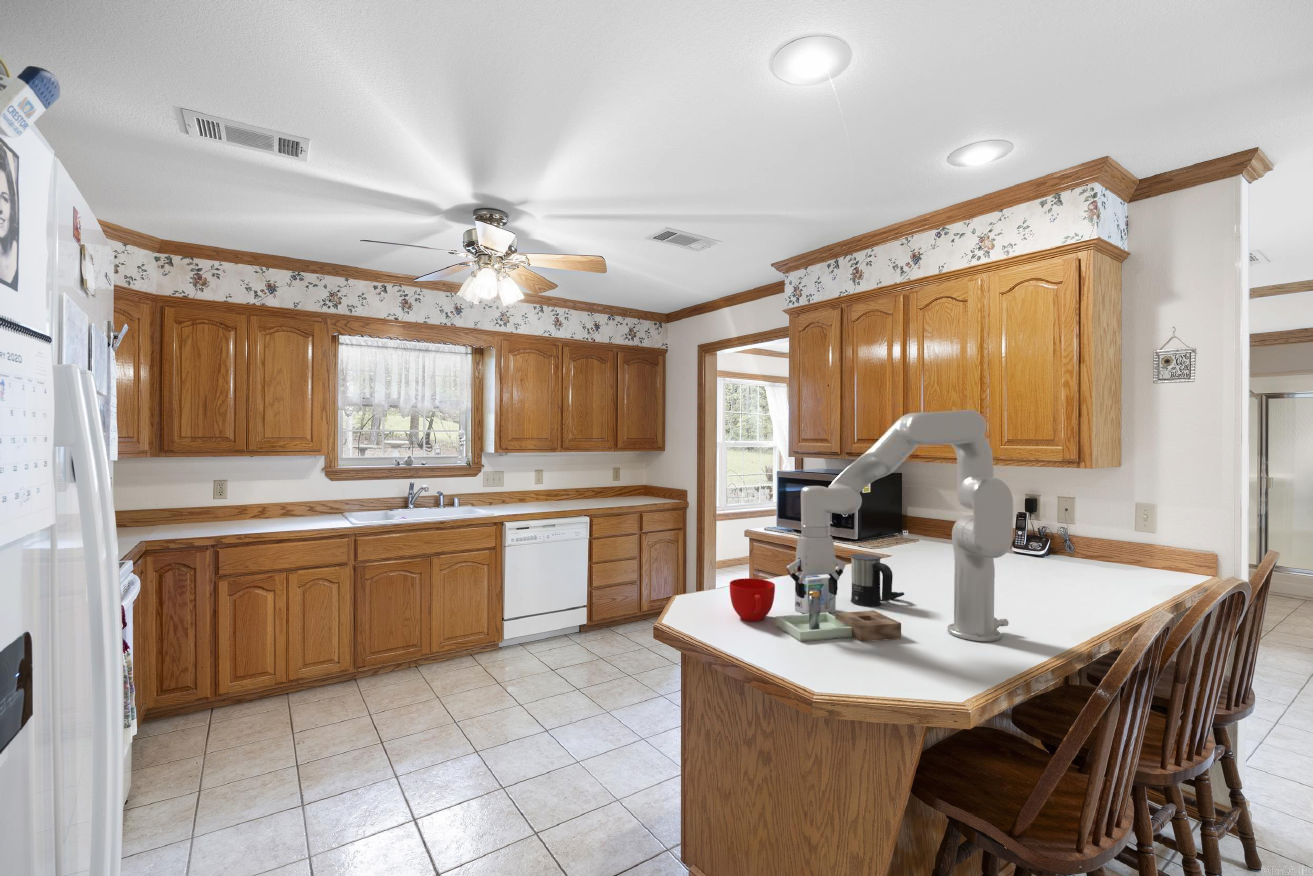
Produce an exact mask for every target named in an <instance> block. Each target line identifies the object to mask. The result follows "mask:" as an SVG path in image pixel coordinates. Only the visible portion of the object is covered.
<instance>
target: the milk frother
mask: <svg viewBox="0 0 1313 876" xmlns="http://www.w3.org/2000/svg"><path fill="white" fill-rule="evenodd" d="M850 558H851V596H850V597H851V598H850V603H852V604H854V605H857V606H863V607H876V606H881V605H882V602H887V601H893V600H895V599H897V598H901V597H903V596H904V595H905V592H903V591H901V592H897V591H893V580H894V579H893V575H894V574H893V571H892V569H891V567H890V566H889V565H888V564H886V563H882V562H881V559H882V556H880V555H876V554H869V553H854V554H851V555H850ZM881 574H882V575H881ZM881 576H882V583H881ZM881 585H882V586H881Z"/></svg>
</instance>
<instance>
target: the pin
mask: <svg viewBox="0 0 1313 876" xmlns="http://www.w3.org/2000/svg"><path fill="white" fill-rule="evenodd" d="M809 629H810V630H815V629H820V592H819V591H814V590H813V591H809Z"/></svg>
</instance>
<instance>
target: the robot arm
mask: <svg viewBox="0 0 1313 876" xmlns="http://www.w3.org/2000/svg"><path fill="white" fill-rule="evenodd" d="M987 425H988V424H987V421H986V419H985V418H984V416H983V415H982V414H981V413H980V412H978V411H976V410H973V409H963V410H960V409H958V410H950V411H949V410H948V411H947V410H946V411H930V412H927V411H926V412H925V411H924V412H911V413H910V412H909V413H905V414H904V415H902V416H901V417H899V418H898V419H897V420H896V421H895V422H894V423H893V424H892V425H891V426H890V427H889V428H888V429H887V431H886V432H884V434H883V435H882V436H881V437H880V438H879V439H878V440H877V441H876V442H875V443H874V444H872V445H871V447H870V448H869V449H868V450H867V451H865V452H864V453H863V454H861V455H860V456H859V457H858V458H857V459H856V460H855V461H853V462H852V463H850V465H848V466H847V467H846V468H845V469H844V470H842V472H841V473H840V474H839V475H838V476H837V477H836V478H835V479H834V480H832V482H831V484H829V485H828V487H826V486H822V485H808V486H804V487H802V488H801V490H800V515H801V516H800V521H801V522H800V523H801V526H800V527H801V528H800V529H801V531H800V532H801V536H798V539H797V544H796V548H795V549H796V550H795V560H794V561H793V562H791V563H790V564H788V565H787V566H786V567H785V569H786V571H787V573H788V575H789V577H790V578H791V579H792V580H793V581H794V583H795V582H796V594H797V596H798V597H800V598H804V597H805V588H804V583H802V582H803V580H804V579H805V578H806V576H812V575H824V574H828V575H829V576H830V578H829V579H828V587H829V593H831V594H833V595H836V596H837V595H838V589H839V588H838V581H839V580H840V577H841V576H842V575H843V573H844V570H845V568H846V565H847V563H846V562H845V561H843V560H841V559H839V558H837V557H836V549H835V544H834V540H833V536H831V534H832V533H834V532H835V528H834V527H833V526H831V513H832V514H833V513H834V514H840V515H851V514H854V513H856V512H857V511H858V510H860V508H861V506H862V503H863V500H862V499H863V497H862V496H861V494H860V493H861V492H862V491H863V490H864V489H865V488H866V487H867V486H869V485H870V484H872V483H873V482H875V481H876V480H878V479H881V478H884V477H886V476H888V475H891V474H892V473H894V472H895V471H896V470H897V469H898V467H900V465H902V464H903V463H904V461H906V459H907V458H909V457H910V455H911V454H912V453H913V452H914V451H915V450H916V449H917V448H918V447H919V446H943V445H944V446H945V445H950V446H951V448H953V450H954V452H955V455H956V463H957V464H956V465H957V476H956V477H957V479H956V480H957V481H956V482H957V484H956V486H957V487H956V495H957V501H958V503H959V504H960V505H961V506H962V507H964V508H965V509H967V510H970V511H972V514H968V515H965V516H962V517H960V518H958V519H957V520H956V521H955V523H954V524H953V527H952V530H951V541H952V546H953V548H952V549H953V556H954V558H953V559H954V577H953V578H954V582H953V583H954V584H953V585H954V589H953V591H954V592H953V593H954V595H953V596H954V597H953V598H954V599H953V602H954V603H953V623H950V624H948V625H947V632H948V633H949V634H950V635H952V636H954V637H957V638H959V639H960V638H961V639H964V640H967V641H968V640H969V641H972V642H973V641H974V642H995V641H999V640H1000V639H1001V638H1002V637H1001V636H1002V634H1001V632H1000V631H999V630H998V628H999V627H1007V626H1009V625H1010V624H1009V620H1008V619H1007V618H999V619H998V618H996V617H995V578H996V576H995V575H996V574H995V573H996V571H995V569H996V567H995V560H994V559H998V558H1001V557H1003V556H1005V555H1006V554H1007V553H1008V551H1009V550H1010V549H1011V546H1012V542H1013V533H1014V532H1013V531H1014V498H1013V494H1012V491H1011V488H1010V487H1009V486H1008V484H1006V483H1005V482H1004V481H1003V480H1001V479H999V478H996V477H994V475H995V474H994V457H993V450H992V447H991V446H992V445H991V444H990V442H989V440H988V439H987V437H986V436H985V433H986V432H987V431H986V430H987ZM795 571H796V573H795Z"/></svg>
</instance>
